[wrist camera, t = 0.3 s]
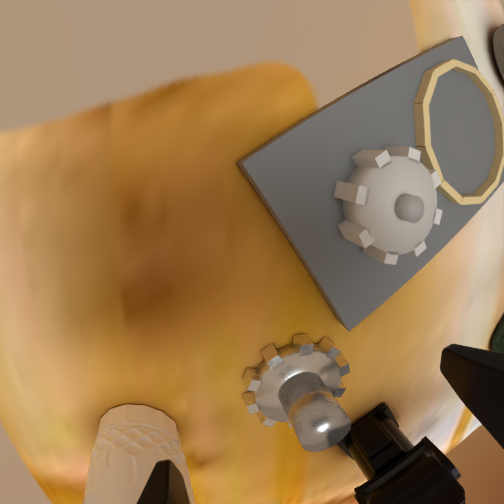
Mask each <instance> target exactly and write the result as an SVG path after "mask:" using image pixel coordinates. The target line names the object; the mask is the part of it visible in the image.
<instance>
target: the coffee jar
mask: <svg viewBox="0 0 504 504" xmlns="http://www.w3.org/2000/svg"><path fill="white" fill-rule="evenodd" d="M492 351H493V352H499V353H504V318H503V320H502V321H501V323H500V325H499V327H498V329H497V330H496V332H495V334H494V337H493V341H492Z"/></svg>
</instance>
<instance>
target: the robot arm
mask: <svg viewBox="0 0 504 504" xmlns="http://www.w3.org/2000/svg"><path fill="white" fill-rule="evenodd" d="M440 370H441V373H442V374H443V376H444V377H445V378H446V380H447V381H448V382H449V384H450V385H451V387H452V388H453V389H454V391H455V392H456V394H457V395H458V396H459V398H460V399H461V400H462V402H463V403H464V404H465V405H466V407H467V408H468V409H469V410H470V411H471V412H472V413H473V414H474V416H475V417H476V418H477V419H478V420H479V421H480V422H481V424H482V425H483V426H484V427H485V428H486V429H487V430H488V431H489V433H490V434H491V435H492V436H493V437H494V438H495V440H496V441H497V442H498V443H499V444H500V445H501V446H502V448H503V449H504V353H499V352H493V351H488V350H483V349H477V348H472V347H467V346H462V345H457V344H451V345H449V346H447V347H446V348H444V349H443V351H442V355H441V363H440ZM337 445H338V446H339V447H340V448H341V449H342V450H343V451H344V452H346V453H347V454H348V455H349V456H350V457H351V458H352V459H353V460H355V461H356V463H357V464H358V466H359V468H360V469H361V471H362V472H363V474H364V475H365V477H366V478H367V480H368V481H367V482H365V483H364V484H362V485H361V486H358V487H356V488H355V489H354V490H355V492H356V494H355V496H354V497H355V498H356V500H357V502H358V503H359V504H465V491H464V489H463V487H462V486H461V485H460V484H459V483H458V481H457V480H458V479H459V478H460V477H461V475H460V473H459V471H458V470H457V469H456V467H455V466H454V465H453V464H452V462H451V461H450V460H449V459H448V458H447V457H446V456H445V455H444V454H443V453H442V452H441V451H440V450H439V449H438V448H437V447H436V446H435V445H434V444H433V443H432V442H431V441H430V440H429V439H428V438H427V437H426V436H425V437H424V438H423V439H421V441H420V442H419V443H418V444H417V445H415V446H413V444H412V443H411V442H410V441H409V440H408V438H407V437H406V436H405V435H404V434H403V433H402V431H401V430H400V429H399V425H398V423H397V421H396V420H395V418H394V416H393V414H392V413H391V411H390V409H389V408H388V406H387V405H386V404H385V403H383V404H381V405H380V406H378V407H377V408H376V409H375V410H373V411H372V412H371V413H369V414H368V415H367V416H365V417H364V418H363V419H361V420H360V421H359V422H357V423H356V424H354V425H353V426H352V427H351V428H350V431H349V432H348V434H347V435H346V436H345V437H344V438H343V439H342V440H341V441H340V442H339V443H337ZM136 504H190V501H189V497H188V493H187V489H186V485H185V482H184V478H183V475H182V474H181V472H180V471H179V469H178V468H177V467H176V466H175V464H174V463H173V462H172V461H171V460H170V459H166V460H161V461H158V462H156V464H155V466H154V468H153V470H152V472H151V474H150V476H149V478H148V480H147V483H146V485H145V487H144V489H143V491H142V493H141V495H140V497H139V499H138V501H137V503H136Z"/></svg>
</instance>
